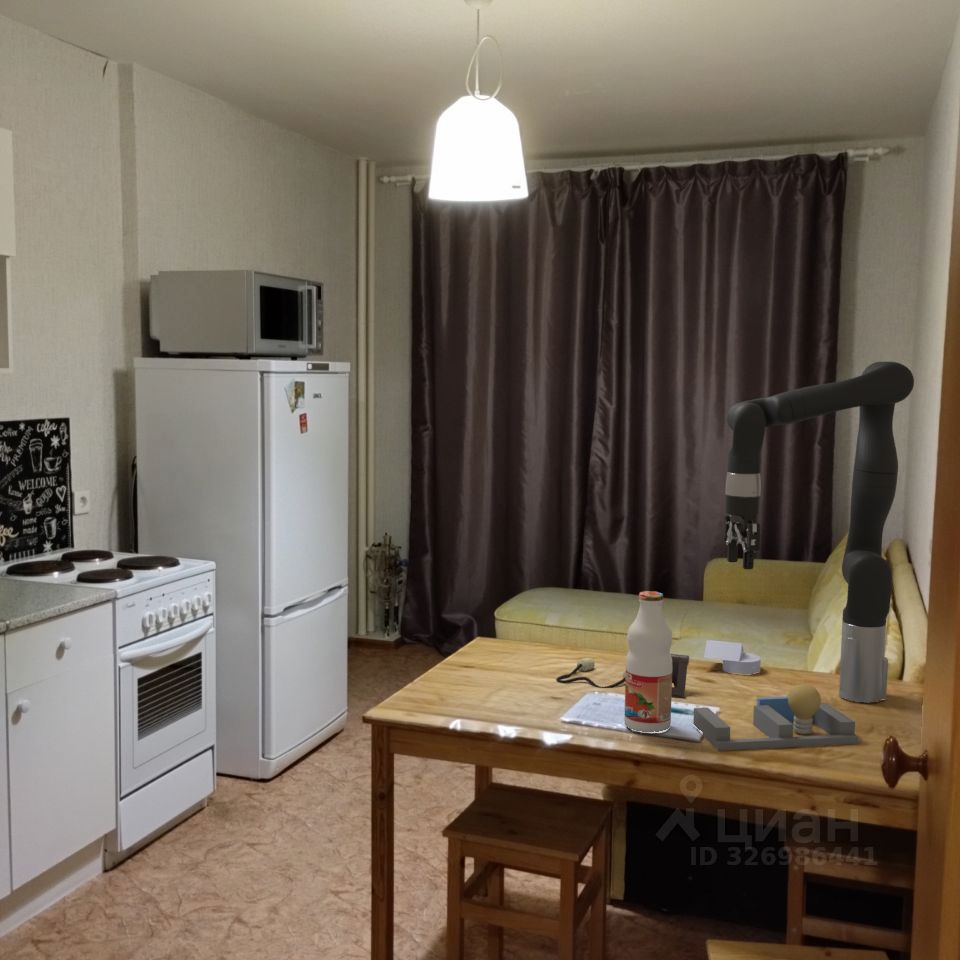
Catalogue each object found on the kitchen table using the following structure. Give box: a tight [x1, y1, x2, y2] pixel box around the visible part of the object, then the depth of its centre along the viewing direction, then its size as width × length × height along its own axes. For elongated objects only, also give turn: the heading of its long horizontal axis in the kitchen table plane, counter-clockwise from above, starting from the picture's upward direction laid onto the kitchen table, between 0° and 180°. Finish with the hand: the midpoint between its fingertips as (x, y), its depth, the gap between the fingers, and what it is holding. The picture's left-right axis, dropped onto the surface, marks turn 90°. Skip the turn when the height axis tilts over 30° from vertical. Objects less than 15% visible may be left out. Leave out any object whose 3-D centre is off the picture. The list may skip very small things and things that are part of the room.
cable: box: [555, 657, 626, 689], centre depth 248 cm, size 16×16×4 cm
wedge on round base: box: [703, 639, 762, 674], centre depth 258 cm, size 9×7×13 cm
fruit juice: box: [624, 590, 673, 732], centre depth 214 cm, size 9×9×28 cm
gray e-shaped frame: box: [692, 696, 859, 752], centre depth 212 cm, size 29×15×5 cm, turn 99°
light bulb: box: [787, 683, 822, 735], centre depth 213 cm, size 6×6×10 cm
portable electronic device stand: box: [670, 653, 690, 698], centre depth 239 cm, size 9×8×8 cm
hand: (739, 565), depth 233 cm, fingers open, 8 cm apart
